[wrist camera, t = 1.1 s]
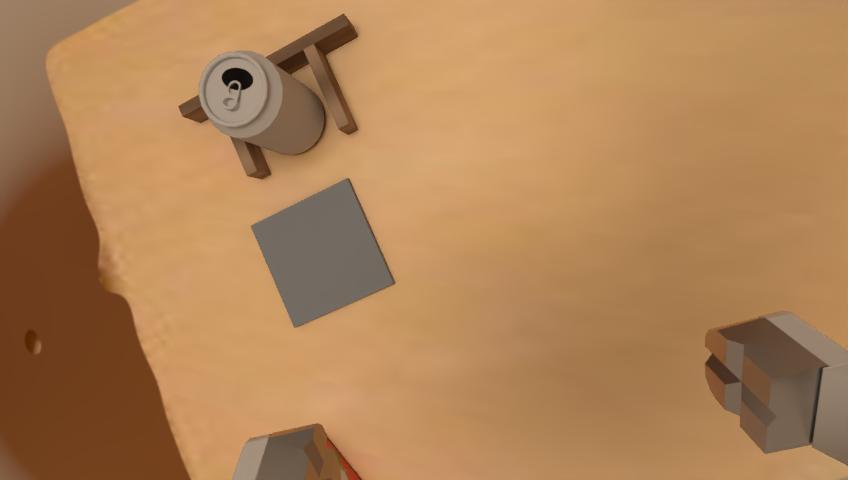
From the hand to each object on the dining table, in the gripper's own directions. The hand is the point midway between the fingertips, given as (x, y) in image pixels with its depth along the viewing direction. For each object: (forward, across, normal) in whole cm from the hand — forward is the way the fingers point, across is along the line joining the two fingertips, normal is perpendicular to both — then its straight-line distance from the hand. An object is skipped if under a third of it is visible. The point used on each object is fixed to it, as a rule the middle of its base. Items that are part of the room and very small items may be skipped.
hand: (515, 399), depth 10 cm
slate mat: (+39, +13, +12) cm, 43 cm away
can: (+45, +13, -1) cm, 47 cm away
